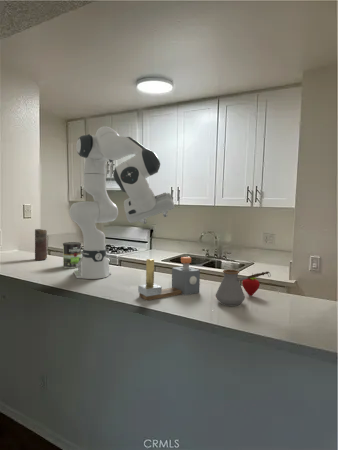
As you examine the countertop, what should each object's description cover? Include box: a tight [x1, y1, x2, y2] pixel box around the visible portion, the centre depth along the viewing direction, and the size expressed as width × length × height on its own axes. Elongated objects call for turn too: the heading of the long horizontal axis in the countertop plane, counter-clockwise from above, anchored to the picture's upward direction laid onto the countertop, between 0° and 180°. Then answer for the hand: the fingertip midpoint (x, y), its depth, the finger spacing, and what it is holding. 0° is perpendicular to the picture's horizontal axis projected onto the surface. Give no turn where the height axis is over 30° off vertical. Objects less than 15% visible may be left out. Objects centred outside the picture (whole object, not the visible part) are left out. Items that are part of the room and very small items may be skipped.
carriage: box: [137, 258, 163, 297], centre depth 129 cm, size 7×7×14 cm
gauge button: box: [180, 256, 192, 270], centre depth 139 cm, size 5×5×11 cm
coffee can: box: [62, 241, 82, 269], centre depth 185 cm, size 10×10×14 cm
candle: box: [34, 228, 48, 261], centre depth 205 cm, size 8×7×20 cm
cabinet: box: [171, 265, 201, 296], centre depth 139 cm, size 11×8×10 cm
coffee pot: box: [215, 269, 272, 307], centre depth 121 cm, size 21×12×15 cm, turn 53°
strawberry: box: [241, 272, 261, 297], centre depth 134 cm, size 6×8×10 cm
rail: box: [138, 287, 183, 301], centre depth 132 cm, size 6×18×2 cm, turn 124°
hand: (155, 219), depth 134 cm, fingers open, 8 cm apart
